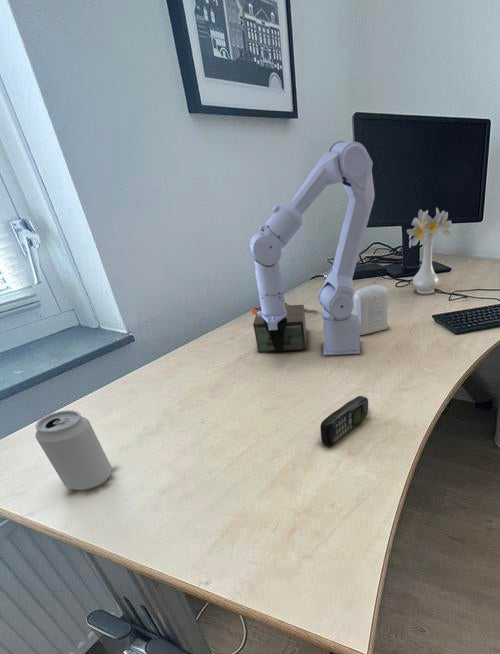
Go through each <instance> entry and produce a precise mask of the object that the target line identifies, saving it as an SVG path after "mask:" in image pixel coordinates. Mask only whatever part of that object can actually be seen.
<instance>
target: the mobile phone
mask: <svg viewBox="0 0 500 654" xmlns="http://www.w3.org/2000/svg"><path fill="white" fill-rule="evenodd" d="M368 411H369V399H368V398H367V397H365V396H363V395H358V396H356V397H355V398H353V399H351V400H350V401H348V402H346V403H344V404H343V405H342V406H341V407H339V408H338V409H337V410H335V411H333V412H332V413H330V414H329V415H328V416H327V417H326V418H324V419H323V420H322V421H321V423H320V427H319V428H320V440H321V442H322V444H323V445H324V446H327V447H331V446H333V445H334V444H335V443H336V442H337V441H340V439H341V438H342V437H344V436H346V434H348V433H349V432H350V431H352V430H353V429H355V428H357V427H358V426H360V424H362V422H363V421H364V420H365V418H366V417H367V415H368V413H369V412H368Z"/></svg>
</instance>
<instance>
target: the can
mask: <svg viewBox="0 0 500 654" xmlns="http://www.w3.org/2000/svg"><path fill="white" fill-rule="evenodd" d="M34 428H35V430H36V432H35V439H36V440H37V443H38V444H39V446H40V447H41V449H42V451H43V453H44V454H45V456H46V457H47V459H48V461H49V463H50V464H51V466H52V467H53V469H54V470H55V472H56V474H57V476H58V477H59V480H61V483H62V484H63V485H64V486H65V488H68V489H69V490H70V489H71V490H76V491H88V490H93V489H95V488H98V487H99V486H101V485H103V484H104V483H105V482H106V481H107V480H108V479H109V477H110V475H111V474H112V472H113V467H112V465H111V463H110V461H109V459H108V457H107V454H106V452H105V451H104V448H103V447H102V444H101V442H100V440H99V439H98V437H97V433H95V431H94V428H93V426H92V424H91V422H90V420H89V419H88V418H86V417H85V416H82V414H81V413H80V412H79V411H76V410H70V409H69V410H68V409H67V410H60V411H56V412H52V413H50V414H47V415H45V416H43V417H41V418H40V419H39V420H38V421H37V422H36V424H35V427H34Z"/></svg>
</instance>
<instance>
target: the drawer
mask: <svg viewBox="0 0 500 654" xmlns="http://www.w3.org/2000/svg"><path fill="white" fill-rule="evenodd" d="M256 333H257V339H258V344H259V350H260V351H267V350H275V349H274V346H273V343H272V340H271V337H270V335H269V333H268V331H267V330H266V329H265V327H264V326H263V327H256ZM286 349H303V339H302V331H301V325H289V326H286V328H285V332H284V349H283V350H286Z"/></svg>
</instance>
